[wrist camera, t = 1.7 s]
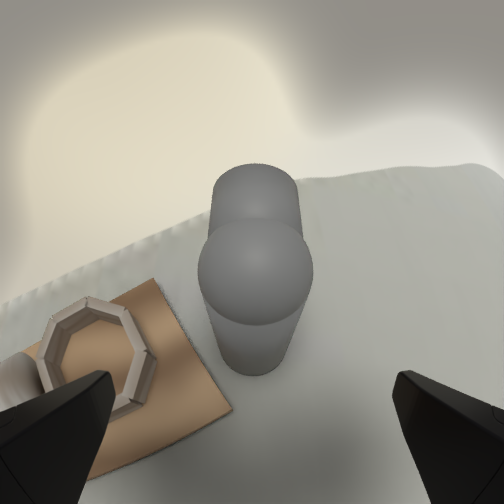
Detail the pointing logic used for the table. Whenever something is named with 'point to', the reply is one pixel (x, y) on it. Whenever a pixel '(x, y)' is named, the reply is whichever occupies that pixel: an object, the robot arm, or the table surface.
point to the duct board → (122, 372)
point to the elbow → (254, 266)
